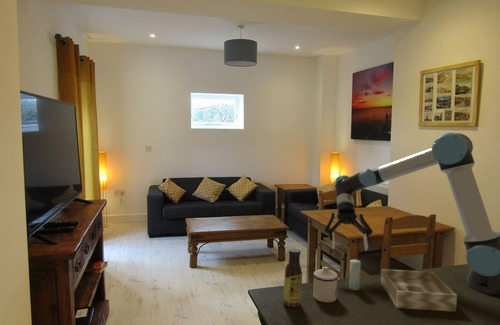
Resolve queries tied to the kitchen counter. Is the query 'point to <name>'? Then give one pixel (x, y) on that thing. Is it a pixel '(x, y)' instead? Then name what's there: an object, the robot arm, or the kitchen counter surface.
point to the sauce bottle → (293, 280)
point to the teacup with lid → (325, 285)
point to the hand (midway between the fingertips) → (350, 248)
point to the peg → (354, 275)
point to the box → (418, 290)
